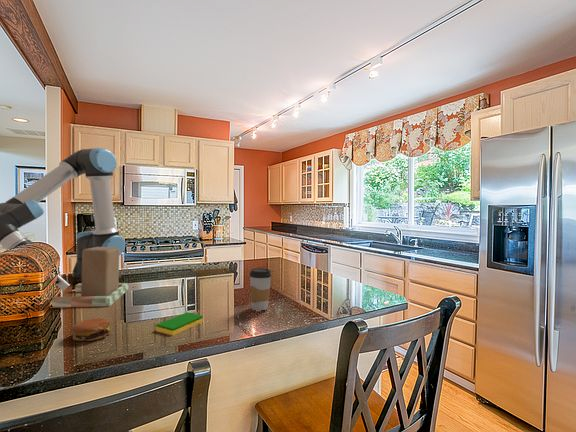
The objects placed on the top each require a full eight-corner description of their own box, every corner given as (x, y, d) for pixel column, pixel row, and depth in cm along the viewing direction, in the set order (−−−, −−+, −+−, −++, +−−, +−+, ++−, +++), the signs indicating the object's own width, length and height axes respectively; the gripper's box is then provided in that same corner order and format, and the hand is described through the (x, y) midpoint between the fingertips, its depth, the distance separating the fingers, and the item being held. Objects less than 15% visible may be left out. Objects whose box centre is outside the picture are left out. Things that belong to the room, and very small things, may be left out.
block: (105, 301, 126) (106, 250, 125) (79, 300, 126) (80, 249, 125) (119, 294, 136) (120, 247, 135) (95, 293, 136) (96, 246, 135)
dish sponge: (203, 322, 108) (203, 315, 108) (172, 337, 96) (172, 328, 96) (187, 318, 111) (187, 311, 111) (155, 332, 99) (155, 324, 99)
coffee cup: (274, 309, 124) (276, 270, 123) (257, 313, 118) (259, 273, 117) (260, 304, 129) (262, 267, 129) (243, 308, 124) (245, 269, 123)
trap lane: (78, 290, 140) (78, 283, 140) (128, 289, 144) (128, 283, 144) (49, 307, 116) (49, 299, 116) (109, 306, 120) (109, 298, 120)
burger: (69, 335, 94) (69, 319, 93) (105, 328, 100) (105, 313, 100) (75, 346, 86) (76, 329, 86) (114, 338, 93) (114, 322, 93)
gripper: (20, 250, 130) (66, 290, 134) (-1, 254, 117) (50, 299, 121) (36, 237, 131) (80, 277, 135) (16, 240, 118) (66, 285, 122)
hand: (66, 287), depth 128 cm, fingers closed
